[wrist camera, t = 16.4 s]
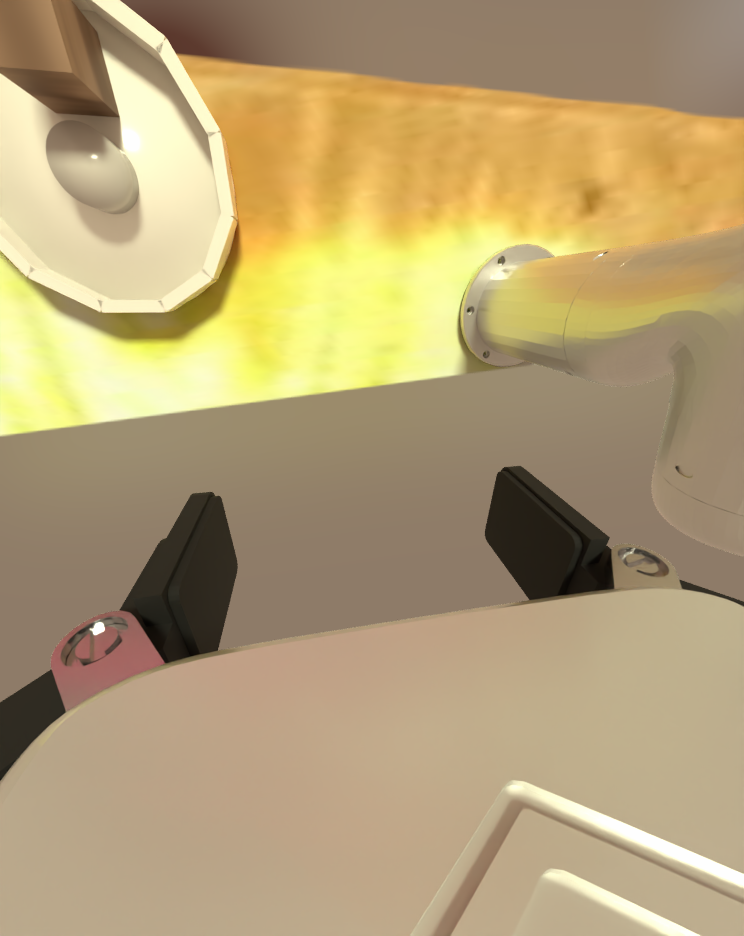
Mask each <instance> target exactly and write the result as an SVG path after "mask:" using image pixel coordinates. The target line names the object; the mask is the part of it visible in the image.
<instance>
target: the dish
mask: <svg viewBox="0 0 744 936" xmlns="http://www.w3.org/2000/svg"><path fill="white" fill-rule="evenodd" d="M72 1H73V3H74V4H75V5H76V6H77V8H78V9H79V10H80V11H81V12H82V14H83V15H84V16H85V17H86V19H87V20H88V21H89V22H90V24H91V25H92V26H93V27H94V29H95V30H96V31H97V33H98V37H99V40H100V44H101V48H102V52H103V55H104V59H105V63H106V67H107V70H108V74H109V78H110V82H111V85H112V89H113V93H114V97H115V100H116V104H117V108H118V112H119V115H120V117H105V116H89V115H74V114H59V113H55V112H54V111H52V110H51V109H49V108H48V107H47V106H45V105H44V104H42V103H41V102H40V101H38V100H37V99H36V98H34V97H33V96H31V95H30V94H29V93H27V92H26V91H24V90H23V89H22V88H20V87H19V86H17V85H16V84H15V83H13V82H12V81H10V80H9V79H8V78H6V77H5V76H3V75H2V74H1V73H0V251H1V252H2V253H3V254H4V255H5V256H6V257H7V258H8V259H9V260H10V261H11V262H12V263H13V264H14V265H15V266H16V267H17V268H18V269H19V270H20V271H21V272H22V273H23V274H24V275H25V276H27V277H28V278H29V279H32V280H34V281H36V282H38V283H40V284H42V285H44V286H46V287H48V288H50V289H53V290H55V291H57V292H59V293H61V294H63V295H65V296H67V297H69V298H72V299H74V300H76V301H78V302H80V303H82V304H84V305H86V306H88V307H90V308H93V309H95V310H97V311H99V312H102V313H129V312H171V311H175V310H176V309H177V308H179V307H180V306H182V305H183V304H185V303H187V302H189V301H190V300H192V299H194V298H196V297H197V296H199V295H200V294H201V293H202V292H204V291H205V290H206V289H207V288H208V287H209V286H210V285H212V284H213V283H215V282H216V281H217V280H216V279H219V276H220V273H221V270H222V269H223V267H224V265H225V263H226V261H227V258H228V256H229V254H230V251H231V247H232V243H233V240H234V234H235V229H236V226H237V224H238V222H237V221H236V220H238V217H237V210H236V196H235V186H234V181H233V176H232V171H231V167H230V163H229V157H228V151H227V144H226V141H225V139H224V137H223V135H222V133H221V131H220V129H219V127H218V126H217V124H216V122H215V121H214V119H213V117H212V115H211V114H210V112H209V110H208V109H207V107H206V105H205V103H204V102H203V100H202V98H201V97H200V95H199V93H198V91H197V90H196V88H195V86H194V84H193V83H192V81H191V79H190V78H189V76H188V74H187V72H186V71H185V69H184V67H183V66H182V64H181V62H180V60H179V59H178V57H177V55H176V54H175V52H174V50H173V48H172V47H171V45H170V43H169V42H168V40H167V39H166V38H165V36H164V35H163V34H161V33H160V32H159V31H158V30H156V29H155V28H154V27H153V26H151V25H150V24H149V23H148V22H146V21H145V20H144V19H143V18H141V17H140V16H139V15H137V14H136V13H135V12H134V11H132V10H131V9H130V8H129V7H127V6H126V5H125V4H124V3H122V2H121V1H120V0H72Z"/></svg>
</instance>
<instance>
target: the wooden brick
mask: <svg viewBox="0 0 744 936" xmlns="http://www.w3.org/2000/svg"><path fill="white" fill-rule="evenodd" d="M0 73H1V74H2V75H3V76H5V77H6V78H8V79H9V80H10V81H12V82H13V83H15V84H16V85H17V86H19V87H20V88H22V89H23V90H24V91H26V92H27V93H29V94H30V95H31V96H33V97H34V98H36V99H37V100H38V101H40V102H41V103H42V104H44V105H45V106H47V107H48V108H49V109H51V110H52V111H54V112H55V113H59V114H74V115H89V116H105V117H120V115H119V112H118V108H117V104H116V100H115V97H114V93H113V89H112V85H111V82H110V78H109V74H108V70H107V67H106V63H105V59H104V55H103V52H102V48H101V44H100V40H99V37H98V33H97V31H96V30H95V29H94V27H93V26H92V25H91V24H90V22H89V21H88V20H87V19H86V17H85V16H84V15H83V14H82V12H81V11H80V10H79V9H78V8H77V6H76V5H75V4H74V3H73V1H72V0H0Z"/></svg>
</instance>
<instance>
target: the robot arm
mask: <svg viewBox="0 0 744 936" xmlns="http://www.w3.org/2000/svg"><path fill="white" fill-rule="evenodd" d="M498 259H499V263H498ZM468 308H469V312H467V309H468ZM460 325H461V330H462V335H463V338H464V340H465V343H466V345H467V346H468V348H469V350H470V351H471V352H472V353H473V354H474V355H475V356H476V357H477V358H478V359H480V360H482V361H483V362H485V363H488V364H490V365H494V366H499V367H505V366H513V365H517V364H520V363H522V362H524V361H527V362H530V363H534V364H537V365H540V366H543V367H546V368H550V369H553V370H556V371H559V372H563V373H566V374H569V375H572V376H575V377H578V378H582V379H585V380H588V381H592V382H595V383H598V384H603V385H608V386H617V387H622V386H633V385H639V384H643V383H647V382H650V381H653V380H656V379H659V378H661V377H664V376H666V375H668V374H671V373H673V372H674V381H673V385H672V390H671V395H670V399H669V409H668V413H667V416H666V421H665V425H664V429H663V433H662V437H661V441H660V445H659V449H658V453H657V457H656V463H655V467H654V471H653V477H652V497H653V500H654V503H655V505H656V508H657V510H658V511H659V512H660V514H661V515H662V516H663V517H664V519H665V520H666V521H667V522H668V523H670V524H671V525H672V526H673V527H675V528H676V529H678V530H679V531H681V532H682V533H684V534H686V535H687V536H689V537H691V538H693V539H695V540H698V541H700V542H702V543H704V544H707V545H709V546H712V547H715V548H717V549H720V550H723V551H726V552H730V553H733V554H737V555H741V556H744V224H743V225H739V226H735V227H731V228H727V229H723V230H719V231H715V232H710V233H704V234H699V235H694V236H689V237H684V238H678V239H672V240H666V241H660V242H653V243H646V244H639V245H634V246H628V247H621V248H614V249H607V250H600V251H593V252H586V253H579V254H572V255H565V256H558V257H555V256H554V255H552V254H551V253H550V252H549V251H548V250H546V249H544V248H542V247H540V246H537V245H530V244H524V245H516V246H512V247H508V248H506V249H503V250H501V251H499V252H497V253H496V254H494V255H493V256H491V257H490V258H489V259H487V260H486V261H485V262H484V263H483V264H482V265H481V266H480V267H479V269H478V270H477V272H476V273H475V274H474V276H473V277H472V279H471V281H470V283H469V285H468V287H467V289H466V291H465V294H464V298H463V301H462V306H461V312H460ZM484 352H485V353H484ZM483 353H484V355H483ZM485 537H486V540H487V542H488V543H489V545H490V546H491V547H492V549H493V550H494V552H495V553H496V554H497V556H498V557H499V558H500V560H501V561H502V563H503V564H504V565H505V567H506V568H507V569H508V571H509V572H510V574H511V575H512V576H513V577H514V579H515V580H516V582H517V583H518V585H519V586H520V587H521V589H522V590H523V591H524V593H525V594H526V596H527V597H528V598H529V600H528V601H522V602H515V603H509V604H502V605H495V606H488V607H482V608H476V609H469V610H462V611H456V612H449V613H443V614H436V615H430V616H424V617H417V618H411V619H404V620H398V621H391V622H386V623H379V624H372V625H366V626H360V627H354V628H348V629H342V630H335V631H329V632H323V633H317V634H310V635H304V636H299V637H292V638H286V639H280V640H275V641H269V642H263V643H258V644H252V645H246V646H241V647H235V648H229V649H224V650H219V651H218V647H219V643H220V639H221V635H222V631H223V627H224V623H225V619H226V615H227V611H228V607H229V603H230V598H231V594H232V591H233V586H234V582H235V578H236V574H237V558H236V555H235V550H234V546H233V542H232V539H231V534H230V530H229V527H228V523H227V519H226V515H225V511H224V507H223V503H222V499H221V497H220V496H215V495H214V493H212V492H206V493H195V494H192V495H191V496H190V498H189V500H188V501H187V503H186V505H185V506H184V508H183V510H182V512H181V513H180V515H179V517H178V519H177V521H176V522H175V524H174V526H173V528H172V529H171V531H170V533H169V535H168V536H167V538H166V539H163V540H161V541H160V543H159V544H158V545H157V547H156V549H155V551H154V553H153V554H152V556H151V557H150V559H149V561H148V563H147V564H146V566H145V568H144V569H143V571H142V573H141V575H140V576H139V578H138V580H137V581H136V583H135V585H134V586H133V588H132V590H131V592H130V593H129V595H128V597H127V598H126V600H125V602H124V604H123V605H122V607H121V609H120V610H119V611H111V612H107V613H103V614H99V615H97V616H95V617H93V618H91V619H88V620H86V621H85V622H83V623H81V624H80V625H79V626H77V627H75V628H74V629H73V630H72V631H70V632H69V633H68V634H67V635H66V636H65V637H63V639H62V640H61V641H60V642H59V644H58V645H57V646H56V647H55V649H54V651H53V654H52V656H51V670H50V671H48V672H47V673H45V674H44V675H42V676H41V677H39V678H38V679H36V680H34V681H33V682H31V683H30V684H28V685H27V686H25V687H24V688H22V689H20V690H19V691H17V692H16V693H14V694H13V695H11V696H10V697H8V698H6V699H5V700H3V701H2V702H0V936H744V602H743V601H740V600H737V599H734V598H731V597H728V596H725V595H723V594H720V593H716V592H714V591H711V590H708V589H705V588H702V587H699V586H696V585H693V584H691V583H687V582H685V581H682V580H679V578H678V575H677V572H676V570H675V568H674V567H673V565H672V564H671V563H670V562H668V560H667V559H665V558H664V557H662V556H661V555H659V554H657V553H655V552H653V551H651V550H649V549H647V548H644V547H641V546H637V545H633V544H619V545H615V546H614V547H613V548H612V550H611V549H610V548H609V547H608V546H606V545H607V543H608V540H609V537H608V536H607V535H606V534H605V533H603V532H602V531H601V530H600V529H598V528H597V527H596V526H595V525H593V524H592V523H591V522H590V521H589V520H587V519H586V518H585V517H584V516H582V515H581V514H580V513H579V512H577V511H576V510H575V509H573V508H572V507H571V506H570V505H568V504H567V503H566V502H565V501H564V500H562V499H561V498H560V497H559V496H558V495H556V494H555V493H554V492H553V491H551V490H550V489H549V488H548V487H546V486H545V485H544V484H543V483H541V482H540V481H539V480H537V479H536V478H535V477H534V476H533V475H532V474H530V473H529V472H528V471H527V470H525V469H524V468H523V467H521V466H514V467H504V468H503V469H502V470H501V472H498V474H497V477H496V481H495V487H494V491H493V496H492V501H491V505H490V510H489V515H488V519H487V524H486V529H485Z"/></svg>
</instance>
